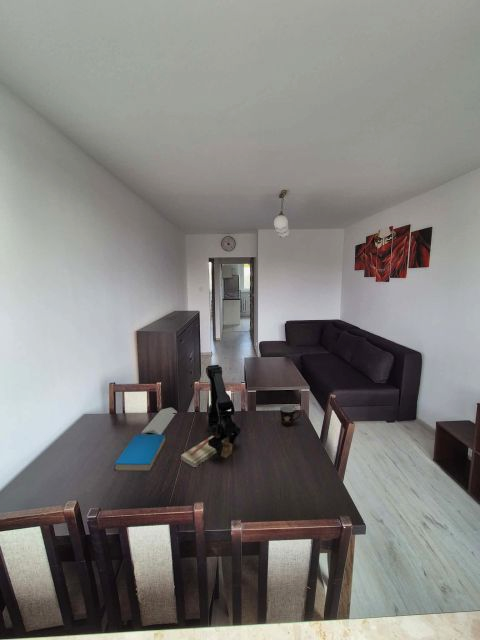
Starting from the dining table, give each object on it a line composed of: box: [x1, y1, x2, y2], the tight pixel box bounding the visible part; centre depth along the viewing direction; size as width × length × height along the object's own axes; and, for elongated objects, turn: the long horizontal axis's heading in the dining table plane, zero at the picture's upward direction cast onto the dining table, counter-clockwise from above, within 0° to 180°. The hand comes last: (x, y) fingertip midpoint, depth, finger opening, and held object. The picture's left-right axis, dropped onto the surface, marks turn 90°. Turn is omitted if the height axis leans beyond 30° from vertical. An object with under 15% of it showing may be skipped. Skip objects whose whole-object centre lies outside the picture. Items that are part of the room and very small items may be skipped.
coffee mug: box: [279, 405, 301, 428], centre depth 168 cm, size 12×9×10 cm
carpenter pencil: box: [190, 439, 208, 455], centre depth 142 cm, size 14×1×1 cm, turn 149°
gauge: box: [220, 440, 233, 459], centre depth 141 cm, size 5×5×6 cm
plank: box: [180, 435, 225, 468], centre depth 142 cm, size 22×10×2 cm, turn 141°
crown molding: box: [140, 407, 178, 435], centre depth 174 cm, size 29×12×4 cm, turn 174°
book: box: [114, 433, 166, 472], centre depth 141 cm, size 17×4×25 cm
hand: (225, 451), depth 141 cm, fingers open, 8 cm apart
